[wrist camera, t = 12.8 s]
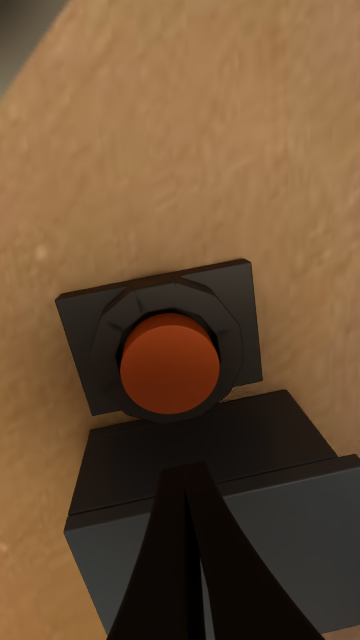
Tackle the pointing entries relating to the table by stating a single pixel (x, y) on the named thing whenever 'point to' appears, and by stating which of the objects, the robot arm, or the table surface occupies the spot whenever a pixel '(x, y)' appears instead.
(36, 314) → the table surface
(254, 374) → the switch block
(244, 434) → the cooker
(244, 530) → the lid
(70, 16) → the table surface
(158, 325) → the button
